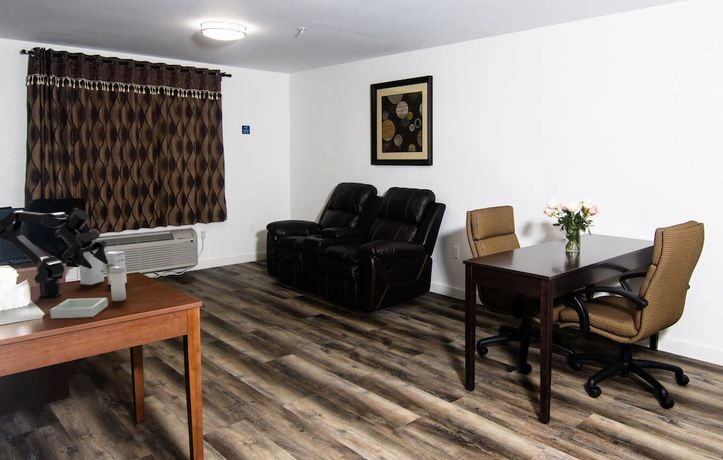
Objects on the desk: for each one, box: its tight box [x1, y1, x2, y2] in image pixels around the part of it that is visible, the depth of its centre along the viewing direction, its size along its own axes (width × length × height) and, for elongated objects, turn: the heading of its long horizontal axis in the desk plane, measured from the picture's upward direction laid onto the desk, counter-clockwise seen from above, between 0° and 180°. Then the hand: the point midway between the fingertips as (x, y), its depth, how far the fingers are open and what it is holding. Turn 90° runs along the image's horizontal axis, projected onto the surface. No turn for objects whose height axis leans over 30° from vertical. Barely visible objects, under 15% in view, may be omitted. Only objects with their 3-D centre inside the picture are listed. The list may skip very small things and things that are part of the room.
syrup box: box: [105, 250, 128, 286], centre depth 231 cm, size 6×6×14 cm
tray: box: [49, 297, 109, 319], centre depth 189 cm, size 14×14×3 cm
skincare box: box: [78, 252, 105, 286], centre depth 234 cm, size 8×6×15 cm
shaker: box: [109, 266, 127, 302], centre depth 205 cm, size 5×5×13 cm
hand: (99, 265), depth 205 cm, fingers open, 9 cm apart
